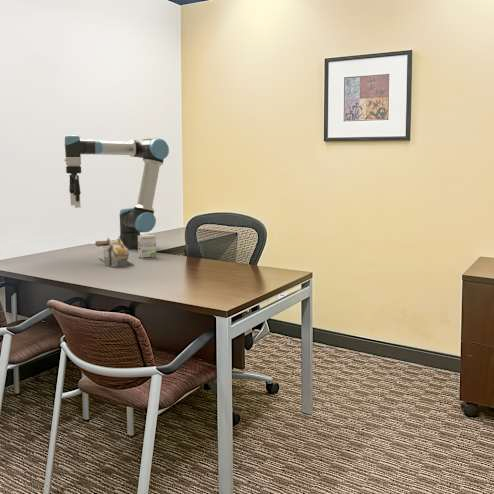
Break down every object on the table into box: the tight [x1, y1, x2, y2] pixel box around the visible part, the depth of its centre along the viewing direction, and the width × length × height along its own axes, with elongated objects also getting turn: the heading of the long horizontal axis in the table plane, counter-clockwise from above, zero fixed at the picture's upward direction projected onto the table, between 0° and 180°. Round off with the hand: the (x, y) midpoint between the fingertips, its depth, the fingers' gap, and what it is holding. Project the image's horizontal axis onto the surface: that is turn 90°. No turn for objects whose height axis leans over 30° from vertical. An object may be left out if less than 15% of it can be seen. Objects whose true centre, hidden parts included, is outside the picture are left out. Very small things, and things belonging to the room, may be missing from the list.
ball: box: [118, 248, 125, 254], centre depth 274 cm, size 4×4×4 cm
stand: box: [102, 246, 135, 269], centre depth 279 cm, size 17×11×8 cm, turn 28°
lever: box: [95, 236, 130, 260], centre depth 278 cm, size 18×12×3 cm, turn 28°
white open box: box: [98, 246, 116, 262], centre depth 293 cm, size 9×10×6 cm
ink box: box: [137, 234, 157, 258], centre depth 299 cm, size 9×5×12 cm, turn 122°
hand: (75, 206), depth 295 cm, fingers open, 13 cm apart
